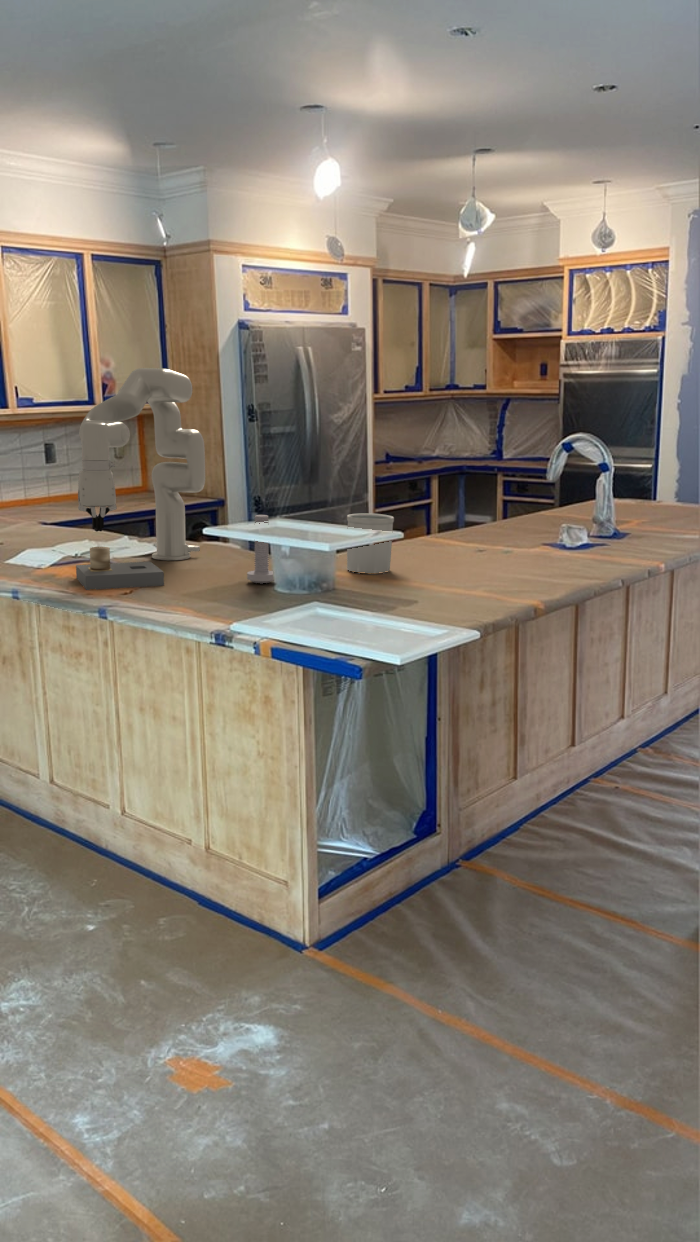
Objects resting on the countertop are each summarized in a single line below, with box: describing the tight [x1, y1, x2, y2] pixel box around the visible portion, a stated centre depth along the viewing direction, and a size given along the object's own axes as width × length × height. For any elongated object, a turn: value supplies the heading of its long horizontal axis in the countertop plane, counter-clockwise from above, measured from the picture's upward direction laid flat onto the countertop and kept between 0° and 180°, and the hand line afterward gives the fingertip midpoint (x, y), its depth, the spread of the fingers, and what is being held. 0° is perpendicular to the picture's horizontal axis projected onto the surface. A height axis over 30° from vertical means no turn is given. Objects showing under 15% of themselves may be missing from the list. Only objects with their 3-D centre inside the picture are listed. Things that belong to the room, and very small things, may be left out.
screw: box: [246, 514, 274, 585], centre depth 295 cm, size 8×8×20 cm
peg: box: [89, 546, 111, 571], centre depth 291 cm, size 6×6×10 cm
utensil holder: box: [346, 512, 395, 573], centre depth 318 cm, size 15×15×18 cm
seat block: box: [75, 561, 165, 591], centre depth 294 cm, size 22×18×4 cm
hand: (98, 530), depth 288 cm, fingers closed
